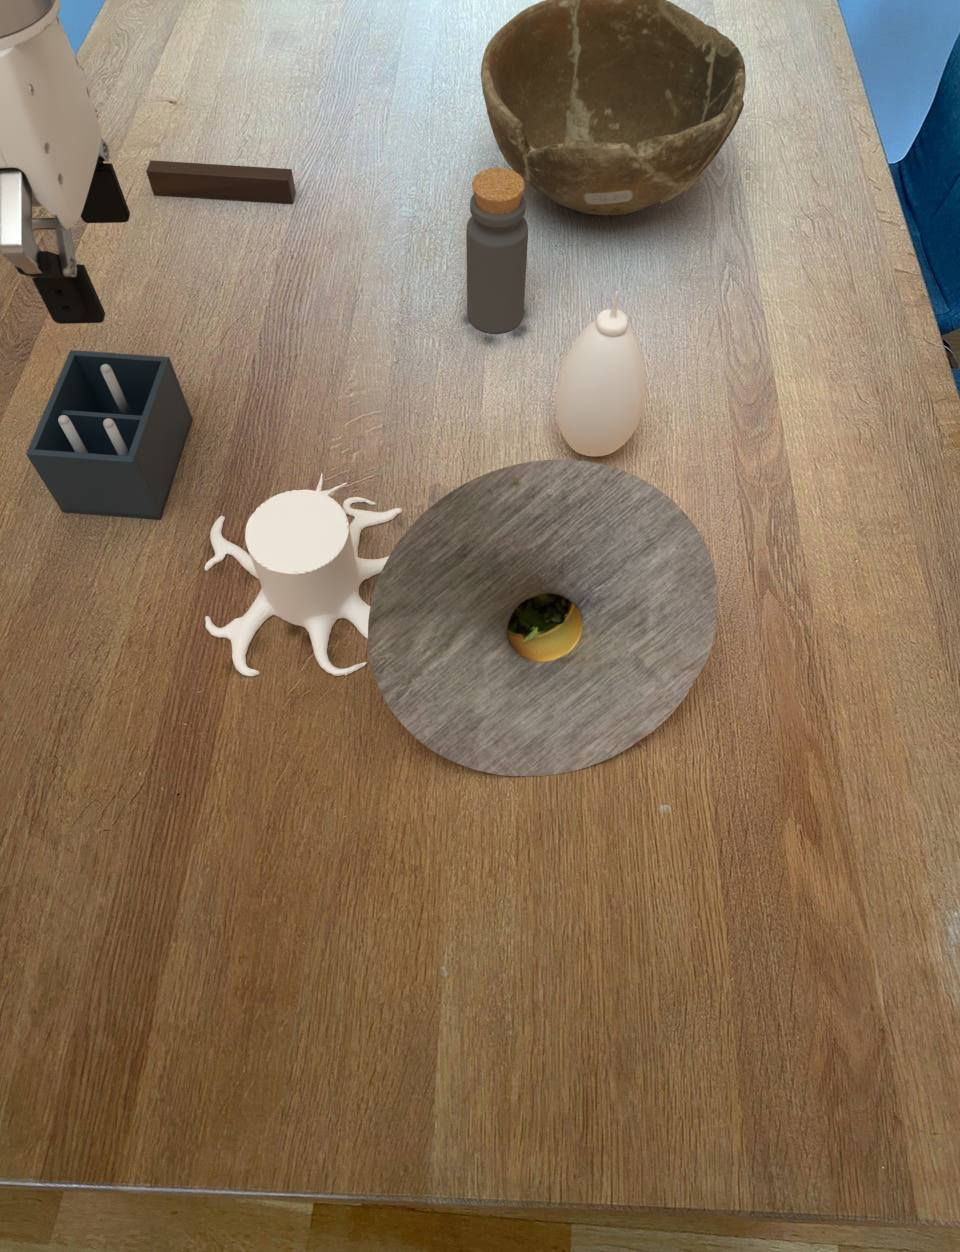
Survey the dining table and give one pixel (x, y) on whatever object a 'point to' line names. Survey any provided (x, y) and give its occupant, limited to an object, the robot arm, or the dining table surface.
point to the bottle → (496, 251)
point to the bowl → (611, 100)
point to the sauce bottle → (601, 386)
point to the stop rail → (221, 181)
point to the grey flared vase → (542, 618)
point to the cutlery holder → (112, 434)
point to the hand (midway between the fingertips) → (94, 268)
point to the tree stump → (302, 569)
